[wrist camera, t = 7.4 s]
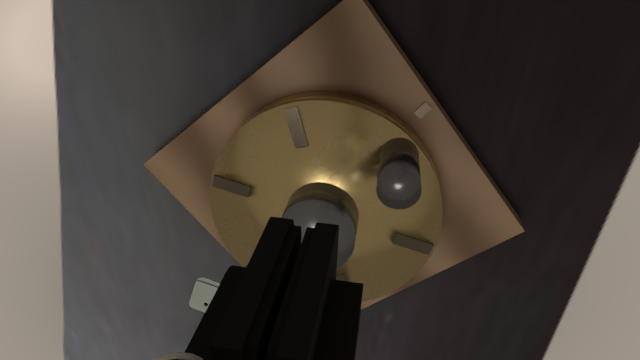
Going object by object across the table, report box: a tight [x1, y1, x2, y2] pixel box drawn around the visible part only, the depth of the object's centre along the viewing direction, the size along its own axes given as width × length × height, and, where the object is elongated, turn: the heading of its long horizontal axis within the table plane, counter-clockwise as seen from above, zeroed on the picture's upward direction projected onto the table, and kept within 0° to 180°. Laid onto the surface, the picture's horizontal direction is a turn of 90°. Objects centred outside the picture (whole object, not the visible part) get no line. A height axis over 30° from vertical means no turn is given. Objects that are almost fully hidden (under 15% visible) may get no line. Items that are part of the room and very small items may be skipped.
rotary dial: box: [210, 91, 443, 302], centre depth 31 cm, size 16×16×7 cm
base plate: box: [143, 0, 524, 309], centre depth 35 cm, size 20×20×2 cm
